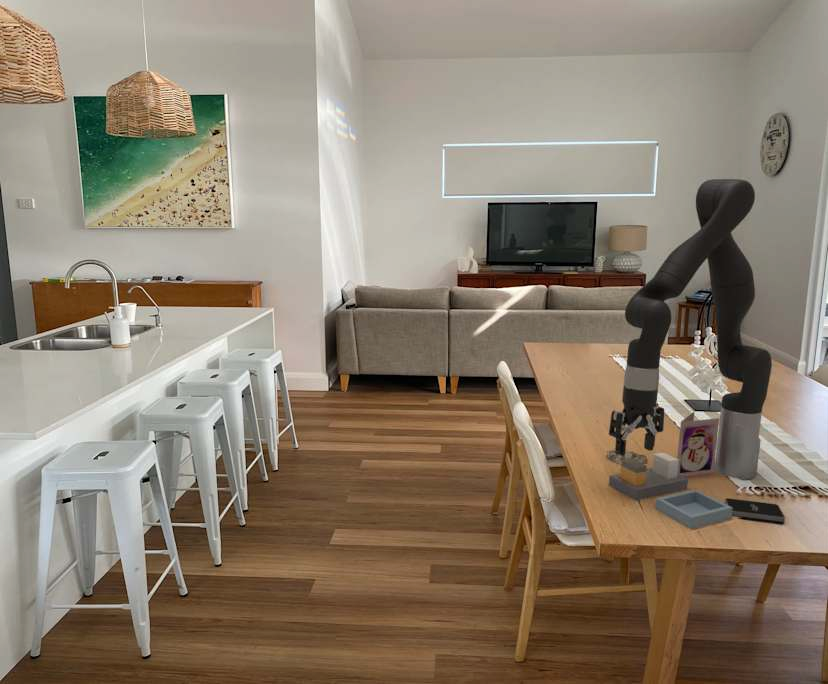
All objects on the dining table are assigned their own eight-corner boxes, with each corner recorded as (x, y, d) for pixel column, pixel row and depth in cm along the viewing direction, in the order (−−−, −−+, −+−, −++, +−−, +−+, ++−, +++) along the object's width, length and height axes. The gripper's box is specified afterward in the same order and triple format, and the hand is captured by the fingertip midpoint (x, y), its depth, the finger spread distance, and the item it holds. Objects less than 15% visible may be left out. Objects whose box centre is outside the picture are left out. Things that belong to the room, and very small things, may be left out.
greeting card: (677, 480, 160) (683, 423, 157) (658, 469, 167) (663, 413, 164) (715, 475, 163) (721, 419, 160) (695, 464, 170) (701, 410, 167)
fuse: (660, 479, 160) (662, 452, 158) (675, 486, 155) (678, 459, 154) (651, 481, 158) (653, 454, 157) (666, 488, 154) (669, 461, 152)
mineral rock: (605, 457, 169) (607, 440, 176) (603, 470, 171) (606, 453, 178) (648, 464, 166) (649, 446, 172) (646, 478, 168) (647, 460, 174)
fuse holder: (658, 477, 162) (659, 465, 161) (686, 491, 154) (688, 479, 153) (608, 487, 156) (609, 475, 155) (635, 502, 148) (636, 490, 147)
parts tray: (694, 501, 148) (695, 489, 148) (731, 520, 139) (732, 507, 139) (654, 510, 143) (655, 498, 143) (690, 530, 135) (691, 517, 134)
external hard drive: (784, 526, 138) (785, 518, 137) (728, 519, 141) (729, 510, 140) (776, 512, 144) (777, 504, 144) (722, 505, 147) (723, 497, 147)
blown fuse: (629, 485, 156) (631, 458, 154) (644, 493, 151) (646, 465, 150) (619, 487, 154) (621, 460, 153) (634, 495, 150) (636, 467, 148)
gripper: (652, 378, 154) (645, 443, 157) (605, 383, 148) (599, 450, 151) (676, 386, 147) (669, 453, 150) (628, 391, 141) (622, 461, 144)
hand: (634, 451), depth 151 cm, fingers open, 8 cm apart
